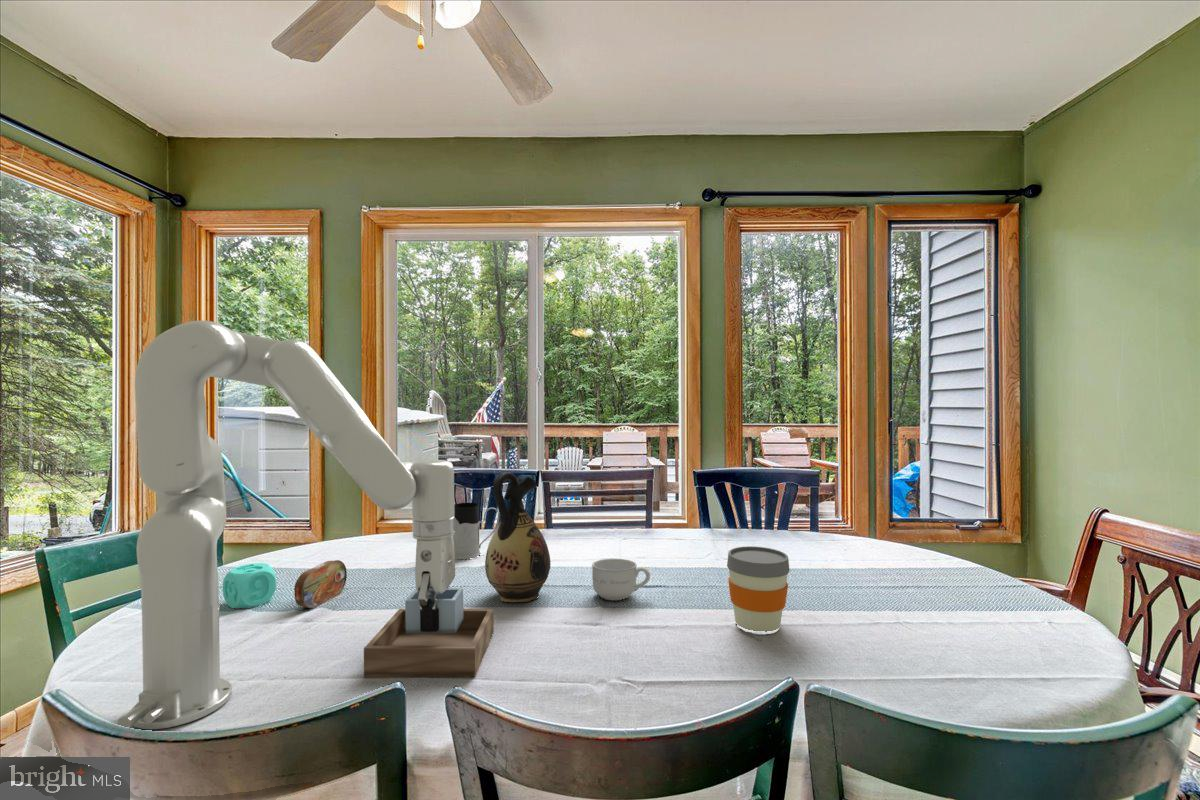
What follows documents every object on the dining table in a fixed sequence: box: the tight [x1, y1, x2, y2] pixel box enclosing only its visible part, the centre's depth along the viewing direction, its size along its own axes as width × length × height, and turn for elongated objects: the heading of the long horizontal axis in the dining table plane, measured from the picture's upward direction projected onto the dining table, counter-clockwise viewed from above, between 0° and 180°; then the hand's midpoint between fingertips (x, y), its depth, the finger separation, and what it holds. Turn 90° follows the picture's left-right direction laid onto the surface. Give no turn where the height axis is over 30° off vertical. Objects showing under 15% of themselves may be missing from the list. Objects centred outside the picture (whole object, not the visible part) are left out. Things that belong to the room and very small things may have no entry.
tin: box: [293, 559, 348, 609], centre depth 129 cm, size 15×3×8 cm, turn 168°
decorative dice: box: [222, 562, 277, 609], centre depth 128 cm, size 8×8×8 cm
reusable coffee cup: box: [726, 545, 791, 632], centre depth 115 cm, size 13×13×15 cm
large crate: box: [363, 608, 495, 678], centre depth 103 cm, size 17×19×5 cm
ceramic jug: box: [484, 471, 551, 603], centre depth 131 cm, size 17×15×30 cm
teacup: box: [591, 558, 651, 601], centre depth 131 cm, size 14×11×8 cm
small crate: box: [404, 587, 464, 633], centre depth 103 cm, size 6×9×6 cm, turn 90°
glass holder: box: [453, 502, 500, 560], centre depth 165 cm, size 9×14×15 cm, turn 107°
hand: (435, 622), depth 103 cm, fingers closed on small crate, 6 cm apart
